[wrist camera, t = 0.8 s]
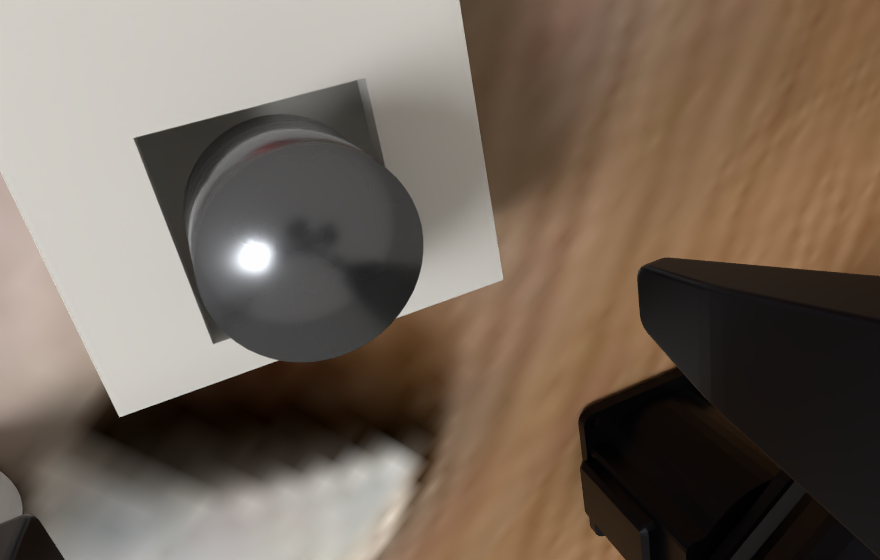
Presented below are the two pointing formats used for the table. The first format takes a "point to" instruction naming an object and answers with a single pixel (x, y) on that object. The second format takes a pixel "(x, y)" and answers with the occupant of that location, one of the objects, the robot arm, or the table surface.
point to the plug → (299, 239)
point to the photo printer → (9, 499)
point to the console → (196, 126)
